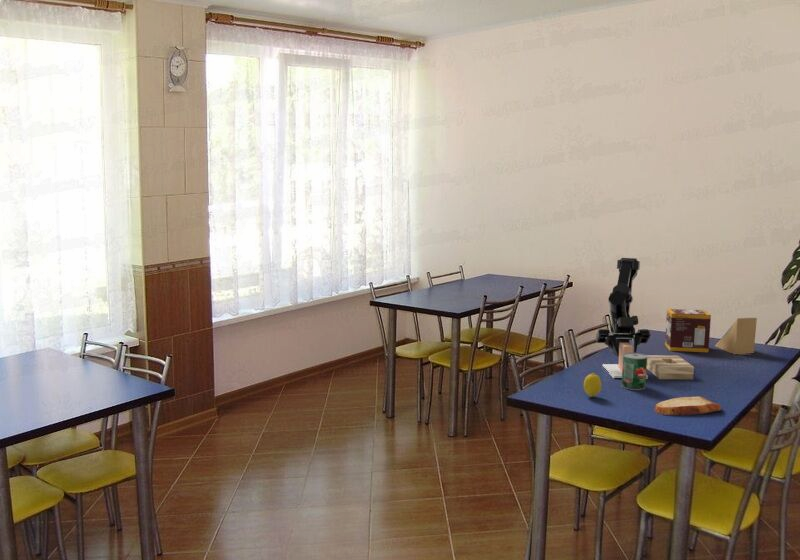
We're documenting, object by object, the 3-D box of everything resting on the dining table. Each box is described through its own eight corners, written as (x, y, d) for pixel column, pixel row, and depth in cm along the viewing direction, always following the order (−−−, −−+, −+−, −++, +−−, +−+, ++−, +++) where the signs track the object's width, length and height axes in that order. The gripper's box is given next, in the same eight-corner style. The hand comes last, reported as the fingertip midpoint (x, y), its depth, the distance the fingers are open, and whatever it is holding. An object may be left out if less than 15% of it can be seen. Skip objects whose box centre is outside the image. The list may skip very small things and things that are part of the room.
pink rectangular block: (618, 367, 287) (619, 342, 285) (626, 367, 287) (627, 342, 285) (622, 372, 281) (624, 346, 279) (631, 372, 281) (632, 346, 279)
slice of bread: (650, 413, 239) (651, 402, 238) (665, 398, 254) (665, 387, 254) (712, 424, 230) (713, 412, 229) (723, 408, 245) (724, 396, 244)
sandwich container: (732, 345, 328) (735, 310, 326) (754, 354, 313) (757, 317, 311) (713, 346, 327) (716, 310, 325) (734, 355, 312) (737, 318, 310)
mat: (602, 366, 292) (602, 364, 292) (634, 367, 292) (634, 364, 292) (613, 378, 276) (613, 375, 276) (647, 378, 276) (647, 376, 276)
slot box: (645, 367, 292) (645, 355, 291) (677, 367, 292) (678, 355, 291) (659, 379, 276) (659, 366, 275) (693, 379, 276) (693, 366, 275)
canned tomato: (644, 391, 261) (646, 359, 259) (620, 388, 264) (622, 357, 262) (646, 385, 268) (647, 353, 267) (622, 382, 271) (624, 351, 269)
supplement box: (664, 345, 327) (666, 308, 325) (702, 346, 325) (705, 309, 323) (669, 350, 317) (671, 313, 315) (708, 352, 315) (711, 314, 313)
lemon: (581, 394, 257) (582, 370, 256) (598, 394, 257) (599, 371, 256) (585, 399, 252) (586, 375, 250) (602, 399, 251) (603, 375, 250)
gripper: (599, 307, 284) (605, 344, 275) (650, 307, 284) (658, 344, 275) (592, 324, 293) (598, 360, 284) (642, 324, 293) (650, 360, 284)
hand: (626, 356), depth 281 cm, fingers open, 6 cm apart
